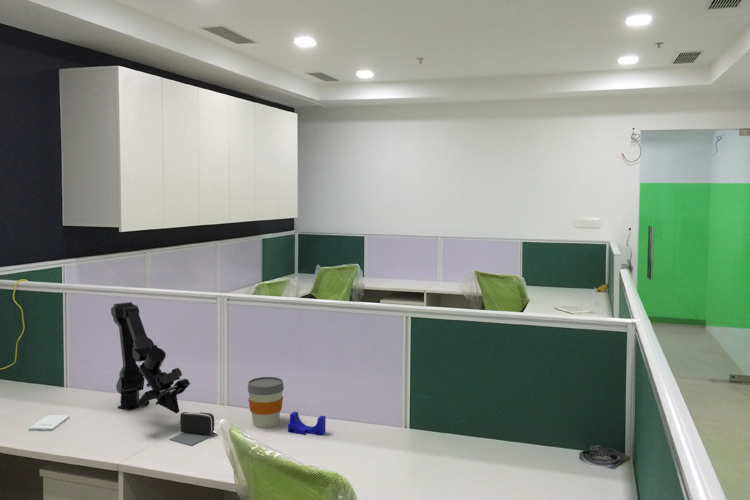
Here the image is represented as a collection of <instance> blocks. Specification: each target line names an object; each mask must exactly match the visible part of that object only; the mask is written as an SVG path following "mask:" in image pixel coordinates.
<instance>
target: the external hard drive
mask: <svg viewBox="0 0 750 500" xmlns="http://www.w3.org/2000/svg"><path fill="white" fill-rule="evenodd" d="M69 419H70V415H68V414H67V415H65V414H64V415H63V414H60V415H59V414H47V415H46V416H44V417H43V418H41V419H40V420H39V421H36V423H34V424H33V425H32V426H30V427H29V428H28V432H39V431H40V432H53V431H54V430H56V429H57V428H59V427H60V426H61V425H63V424H64V423H65V422H67V421H68V420H69Z"/></svg>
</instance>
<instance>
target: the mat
mask: <svg viewBox="0 0 750 500" xmlns="http://www.w3.org/2000/svg"><path fill="white" fill-rule="evenodd" d="M215 434H216V433H214V432H212V433H211V434H209V435H199V434H192V433H185V432H181V433H179V434H178V435H175V436H173V437H171V438H169V439H168V440H169V441H173V442H175V443H179V444H183V445H187V446H189V447H193V446H195V445H197V444H199V443H201V442H203V441H205V440H208V439H210V438H212V437H214V436H216V435H217V434H216V435H215Z"/></svg>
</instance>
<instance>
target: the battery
mask: <svg viewBox="0 0 750 500" xmlns="http://www.w3.org/2000/svg"><path fill="white" fill-rule="evenodd" d="M179 417H180V418H179V420H180V424H179V425H180V432H181V433H184V432H185V433H192V434H199V435H209V434H211V433H212V432H213V431H214V429H215V416H214V414H212V413H210V412H203V411H202V412H199V413H197V412H187V411H183V412H180V415H179Z"/></svg>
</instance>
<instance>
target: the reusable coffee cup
mask: <svg viewBox="0 0 750 500" xmlns="http://www.w3.org/2000/svg"><path fill="white" fill-rule="evenodd" d="M283 391H284V380H283V379H282V378H280V377H276V376H275V377H274V376H262V377H261V376H259V377H256V378H252V379H249V380H248V384H247V392H248V396H249V397H248V399H247V400H248V404H249V411H250V412H251V417H252V418H251V419H252V425H253V426H254V427H256V428H262V429H263V428H264V429H268V428H272V427H276V426H278V425H279V423H280V415H281V410H282V408H283V401H284V396H283Z"/></svg>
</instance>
